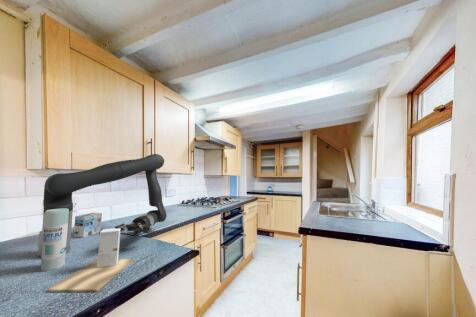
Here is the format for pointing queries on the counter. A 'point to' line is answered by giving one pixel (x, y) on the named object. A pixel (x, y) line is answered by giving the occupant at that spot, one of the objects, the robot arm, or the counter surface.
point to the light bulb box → (87, 224)
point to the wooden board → (90, 277)
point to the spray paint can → (54, 239)
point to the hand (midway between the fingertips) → (124, 232)
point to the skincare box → (108, 247)
